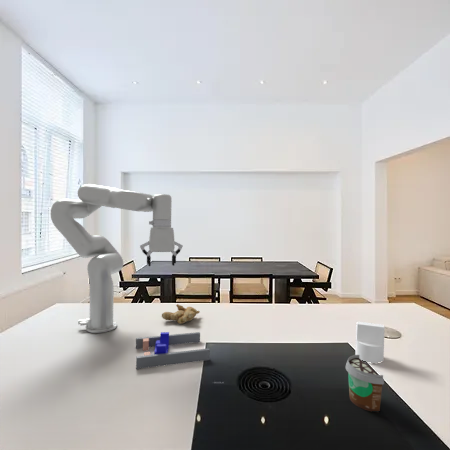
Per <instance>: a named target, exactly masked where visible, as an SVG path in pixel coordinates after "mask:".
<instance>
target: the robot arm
mask: <svg viewBox="0 0 450 450" xmlns="http://www.w3.org/2000/svg"><path fill="white" fill-rule="evenodd" d="M77 197H78V199H72V198H62V199H58V200H56V201H55V202H54V203H53V204H52V206H51V208H50V219H51V223H52V224H53V226H54V228H56V230H57V231H58V232H60V234H61V235H62V236H63V237H64V238H65V239H66V241H67V242H68V243H69V244H70V246H71V247H72V249H74V251H75V252H76V253H77V255H78V256H80V257H81V258H85V259H86V258H87V259H88V258H91V259H90V260H89V261H88V263H87V268H86V269H87V275H88V282H89V316H88V318H86V319H85V318H84V319H78V321H77V322H78V323H77V324H78V325H80V326H85V327H84V328H85V331H86V332H88V333H92V334H100V333H107V332H111V331H113V330H115V329H116V328H117V327H118V322H116V321H114V281H113V278H112V275H114V274H116V273H118V272H120V271H122V269H123V268H124V267H123V266H124V259H123V257H122V255H121V254H120V253H119V252H118V250H117V249H116V248H115V247H114V245H113V244H112V243H111V241H109V240H108V239H107V238H106V237H104V236H102V235H99V234H95V235H93V234H90V233H89V232H88V231H87V230H86V229H85V227H84V226H83V225H82V224H81V223H80V222H78V221H77V220H78V219H80V220H81V219H85V218H87V217H89V216H90V215H92V214H93V213H94V212H96V211H97V210H98V209H100V208H101V207H106V208H112V209H121V210H126V211H133V212H144V213H151V212H152V220H150V221H148V225H151V226H152V227H150V229H149V230H150V231H149V238H148V239H149V240H148V241H146V242H144V243H142V244H140V245H139V248H140V250H141V251H142V253H143V255H145V256H146V264H147V265H148V267H151V266H152V265H151V261H152V260H151V259H152V257H151V254H152V253H171V254H172V255H171V266H173V267H174V266H175V264H176V262H177V255H178V254H179V253H181V251H182V249H183V244H181V243H179V242H178V241H175V232H174V227H172V196H171V195H170V194H166V193H157V194H150V193H149V194H148V193H144V192H140V191H139V192H137V191H130V190H124V189H119V188H117V187H112V186H111V187H110V186H107V185H106V186H104V185H99V184H92V183H88V184H87V183H85V184H83V185H81V186H80V187H79V188H78V190H77ZM76 219H77V220H76ZM147 246H148V251H147V249H145V247H147ZM175 246H176V247H177V249H176V250H175Z"/></svg>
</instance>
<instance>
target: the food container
mask: <svg viewBox="0 0 450 450" xmlns="http://www.w3.org/2000/svg"><path fill="white" fill-rule="evenodd" d="M345 370H346V371H347V373H348V377H347V378H348V393H349V395H348V396H349V400H350V402H351V403H352V404H353V405H355V406H357V408H359V409H363V410H365V411H368V412H372V411H381V401H382V391H383V385H385V379H384V375H383V374H377V372H375V370H374V369H373V367H371V366H370V365H369V364H368V363H366V362H363V361H362V360H361V359H360V358H359V355H355V354H353V355H350V356H349V357H348V358H347V361H346V364H345Z"/></svg>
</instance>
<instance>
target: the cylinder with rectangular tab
mask: <svg viewBox="0 0 450 450" xmlns="http://www.w3.org/2000/svg"><path fill="white" fill-rule="evenodd" d="M355 324H356V325H355V354H354V355H359V358H360V359H361V360H363V361H366V362H371V363H378V362H381V361H383V362H384V355H385V353H384V352H385V351H384V350H385V349H384V348H385V325H384V324H383V323H382V324H381V323H373V322H365V321H356V323H355ZM366 362H365V363H366Z"/></svg>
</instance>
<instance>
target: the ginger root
mask: <svg viewBox="0 0 450 450" xmlns="http://www.w3.org/2000/svg"><path fill="white" fill-rule="evenodd" d="M175 306H176V307H177V311H175V312H171V311H165V312H162V313H161V318H162V319H163V320H165V321H176V322H177V323H178V325H183V324H186V322H191V321H192V320H194V318H195V317H196V316H197V315H198V314H200V313H201V312H200V310H197V309H196V308H194V307H192V306H187V307H186V308H185V307H184V306H183V305H180V304H178V303H177V304H176V305H175Z"/></svg>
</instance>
